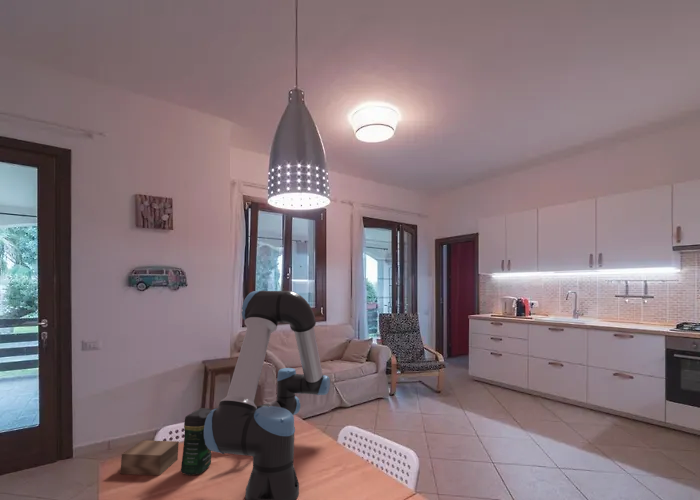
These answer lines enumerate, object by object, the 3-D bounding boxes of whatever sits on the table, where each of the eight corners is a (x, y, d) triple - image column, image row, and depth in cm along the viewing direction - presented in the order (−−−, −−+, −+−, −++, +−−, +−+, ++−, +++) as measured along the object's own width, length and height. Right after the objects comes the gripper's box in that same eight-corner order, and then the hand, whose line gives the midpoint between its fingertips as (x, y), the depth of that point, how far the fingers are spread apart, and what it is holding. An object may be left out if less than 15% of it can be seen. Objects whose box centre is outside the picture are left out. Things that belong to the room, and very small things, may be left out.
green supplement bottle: (200, 477, 116) (203, 415, 118) (176, 475, 117) (180, 414, 119) (214, 463, 126) (217, 406, 128) (193, 461, 127) (196, 405, 129)
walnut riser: (177, 459, 128) (178, 441, 129) (159, 475, 117) (160, 455, 118) (141, 458, 129) (142, 440, 129) (120, 473, 118) (121, 454, 119)
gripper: (288, 431, 137) (239, 450, 121) (247, 416, 153) (199, 431, 136) (288, 410, 138) (240, 426, 121) (248, 398, 153) (200, 410, 137)
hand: (218, 429), depth 129 cm, fingers open, 13 cm apart
